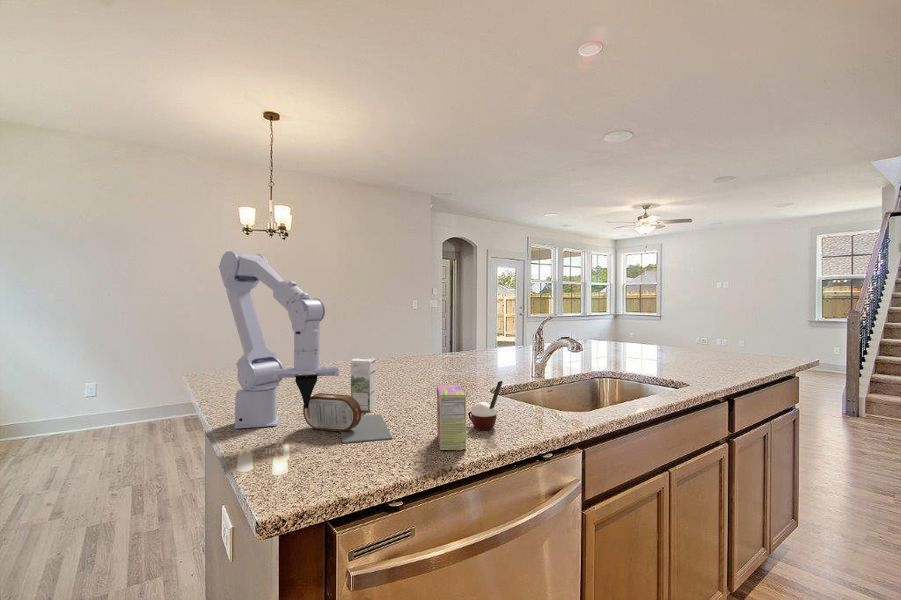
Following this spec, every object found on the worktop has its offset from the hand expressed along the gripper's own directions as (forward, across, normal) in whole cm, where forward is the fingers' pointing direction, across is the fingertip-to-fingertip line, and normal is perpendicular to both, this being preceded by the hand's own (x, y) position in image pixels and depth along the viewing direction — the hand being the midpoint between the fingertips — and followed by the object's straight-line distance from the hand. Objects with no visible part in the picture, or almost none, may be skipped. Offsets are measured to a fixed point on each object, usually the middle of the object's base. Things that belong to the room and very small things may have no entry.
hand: (306, 407), depth 102 cm
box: (+6, +31, -16) cm, 35 cm away
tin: (+6, +6, 0) cm, 8 cm away
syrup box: (+6, +15, +18) cm, 24 cm away
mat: (+6, +13, 0) cm, 14 cm away
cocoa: (+6, +42, -8) cm, 43 cm away
